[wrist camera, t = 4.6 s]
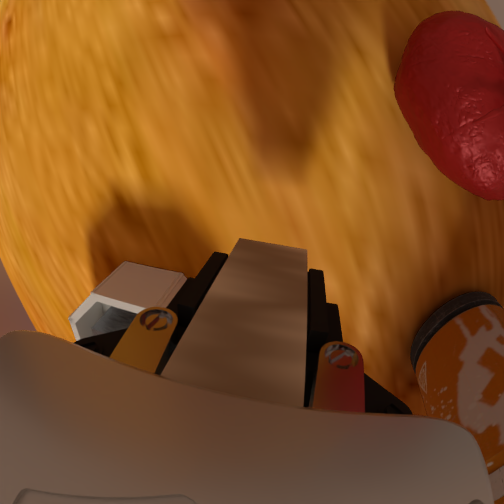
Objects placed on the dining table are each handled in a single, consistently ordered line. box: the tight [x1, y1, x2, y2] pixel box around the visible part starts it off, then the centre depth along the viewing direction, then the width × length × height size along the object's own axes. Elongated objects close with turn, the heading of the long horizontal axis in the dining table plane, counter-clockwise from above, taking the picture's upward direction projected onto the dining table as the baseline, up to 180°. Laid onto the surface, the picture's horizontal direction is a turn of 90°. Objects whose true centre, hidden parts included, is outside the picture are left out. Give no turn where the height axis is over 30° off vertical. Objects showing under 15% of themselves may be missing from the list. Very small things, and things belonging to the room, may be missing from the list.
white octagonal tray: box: [69, 261, 187, 341], centre depth 20 cm, size 11×11×4 cm
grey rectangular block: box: [161, 238, 307, 407], centre depth 9 cm, size 3×3×9 cm
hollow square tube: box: [91, 306, 137, 336], centre depth 20 cm, size 6×6×4 cm
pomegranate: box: [394, 11, 504, 200], centre depth 8 cm, size 10×10×9 cm
